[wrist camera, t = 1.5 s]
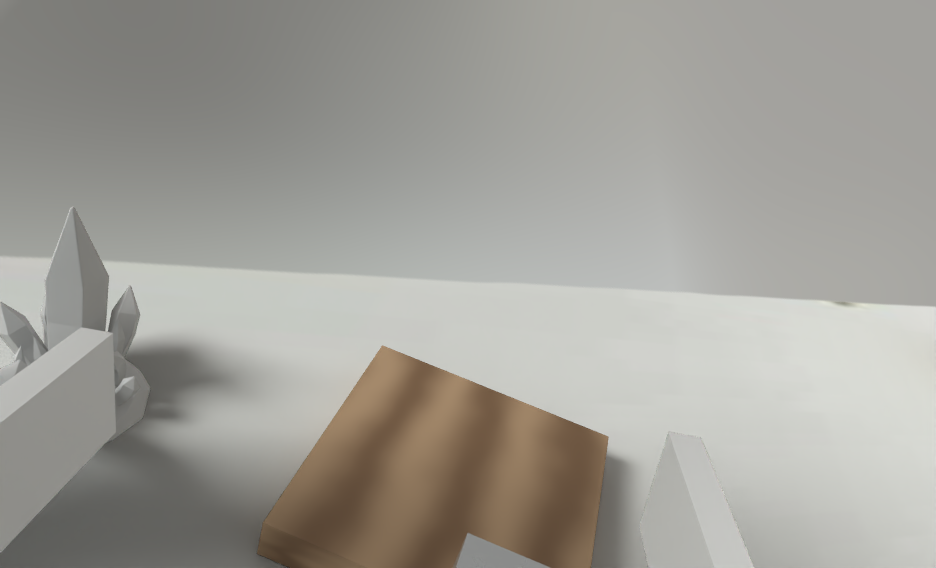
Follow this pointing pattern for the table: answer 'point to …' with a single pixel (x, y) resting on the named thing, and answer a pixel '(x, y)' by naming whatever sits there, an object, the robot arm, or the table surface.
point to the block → (437, 477)
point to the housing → (490, 556)
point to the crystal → (80, 319)
